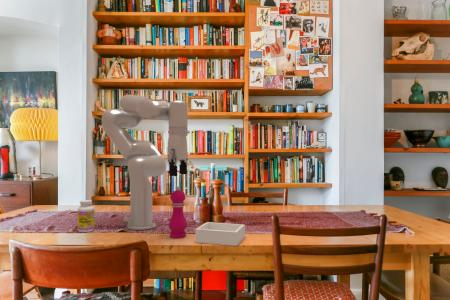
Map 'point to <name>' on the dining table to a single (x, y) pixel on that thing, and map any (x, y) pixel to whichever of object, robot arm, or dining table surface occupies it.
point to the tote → (220, 233)
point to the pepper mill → (177, 215)
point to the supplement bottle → (85, 216)
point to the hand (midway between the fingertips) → (178, 175)
